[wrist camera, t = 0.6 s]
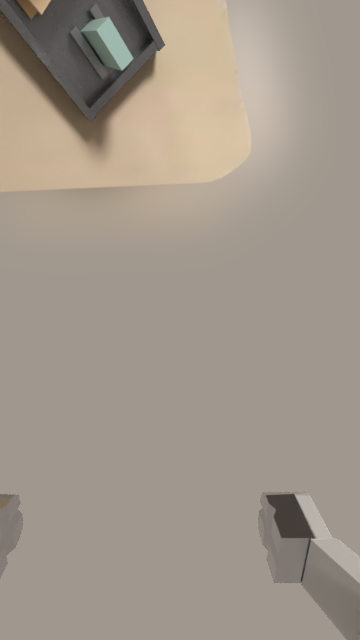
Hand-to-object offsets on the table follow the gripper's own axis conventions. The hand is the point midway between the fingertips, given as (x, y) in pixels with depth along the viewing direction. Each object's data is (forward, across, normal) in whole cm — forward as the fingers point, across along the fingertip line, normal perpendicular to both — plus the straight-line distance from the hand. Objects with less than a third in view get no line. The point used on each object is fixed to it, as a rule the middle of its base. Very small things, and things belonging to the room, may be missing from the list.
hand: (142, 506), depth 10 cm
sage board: (+40, +9, -32) cm, 52 cm away
